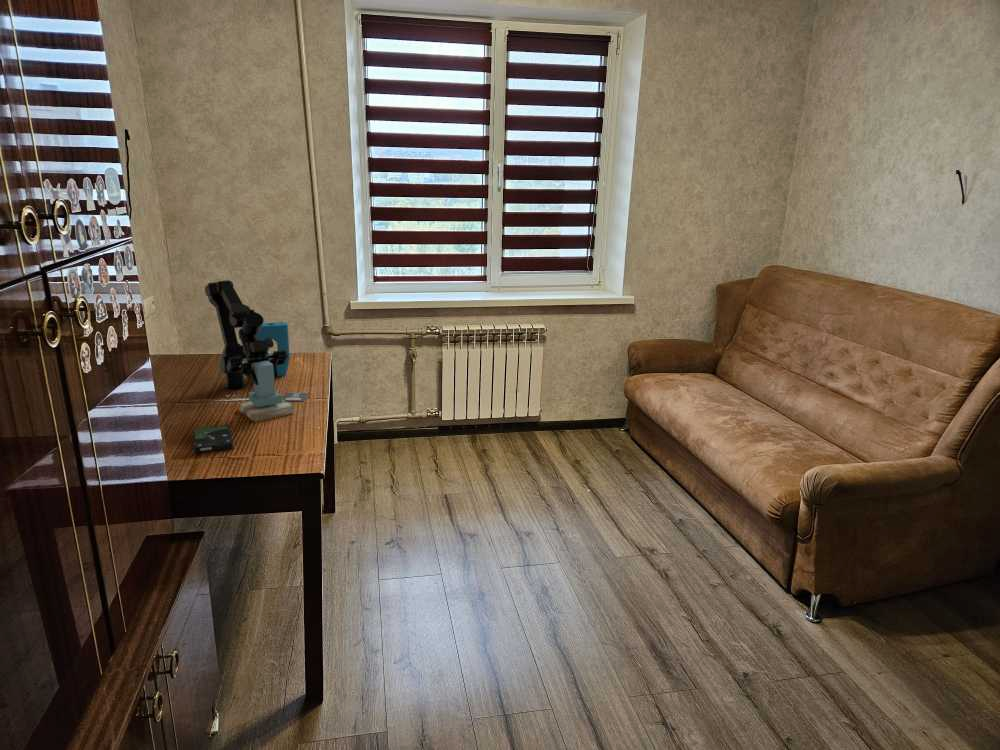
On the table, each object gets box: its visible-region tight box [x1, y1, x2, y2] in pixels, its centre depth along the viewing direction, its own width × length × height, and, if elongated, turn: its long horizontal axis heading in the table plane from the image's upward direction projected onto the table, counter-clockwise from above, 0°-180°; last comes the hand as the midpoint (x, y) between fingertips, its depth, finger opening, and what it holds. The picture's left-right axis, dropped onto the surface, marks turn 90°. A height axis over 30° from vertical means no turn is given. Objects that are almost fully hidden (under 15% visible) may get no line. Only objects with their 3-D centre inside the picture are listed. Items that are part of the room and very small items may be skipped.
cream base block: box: [238, 399, 295, 423], centre depth 220 cm, size 13×13×3 cm
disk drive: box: [192, 424, 235, 455], centre depth 195 cm, size 10×3×15 cm
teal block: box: [248, 361, 283, 407], centre depth 217 cm, size 8×8×13 cm
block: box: [258, 321, 291, 377], centre depth 255 cm, size 12×5×20 cm, turn 109°
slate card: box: [282, 392, 310, 403], centre depth 234 cm, size 8×8×1 cm
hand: (265, 383), depth 216 cm, fingers closed on teal block, 5 cm apart
